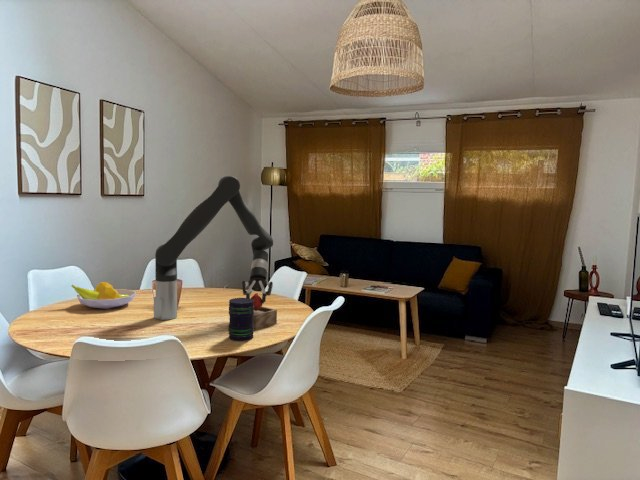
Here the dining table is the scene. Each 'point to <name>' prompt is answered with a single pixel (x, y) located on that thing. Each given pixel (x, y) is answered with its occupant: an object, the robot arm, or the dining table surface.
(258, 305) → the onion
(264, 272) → the robot arm
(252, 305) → the storage jar
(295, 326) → the dining table surface
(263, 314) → the wooden square tray
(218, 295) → the dining table surface
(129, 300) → the fruit bowl
